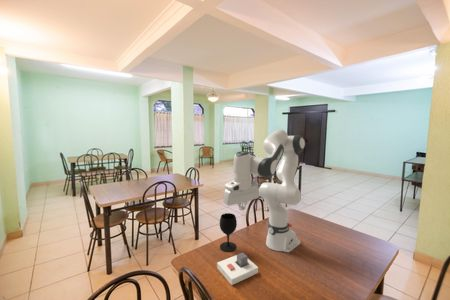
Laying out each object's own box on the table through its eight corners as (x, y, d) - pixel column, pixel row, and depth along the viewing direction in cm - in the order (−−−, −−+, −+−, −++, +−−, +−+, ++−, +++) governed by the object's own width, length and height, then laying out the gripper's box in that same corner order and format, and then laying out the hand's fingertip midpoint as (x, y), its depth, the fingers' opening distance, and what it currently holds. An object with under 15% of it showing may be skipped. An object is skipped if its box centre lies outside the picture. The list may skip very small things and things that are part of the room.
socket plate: (241, 257, 117) (241, 251, 117) (257, 272, 105) (258, 265, 105) (217, 267, 109) (217, 261, 109) (231, 285, 97) (231, 277, 97)
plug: (242, 264, 111) (242, 252, 111) (247, 268, 108) (247, 256, 107) (236, 267, 109) (236, 254, 108) (241, 271, 106) (241, 258, 105)
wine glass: (217, 244, 131) (217, 214, 128) (232, 241, 134) (232, 211, 132) (223, 253, 121) (223, 221, 119) (239, 250, 125) (239, 218, 122)
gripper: (254, 179, 113) (254, 203, 114) (221, 185, 102) (222, 211, 104) (262, 181, 107) (261, 207, 109) (228, 188, 97) (229, 216, 99)
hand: (242, 209), depth 106 cm, fingers closed
